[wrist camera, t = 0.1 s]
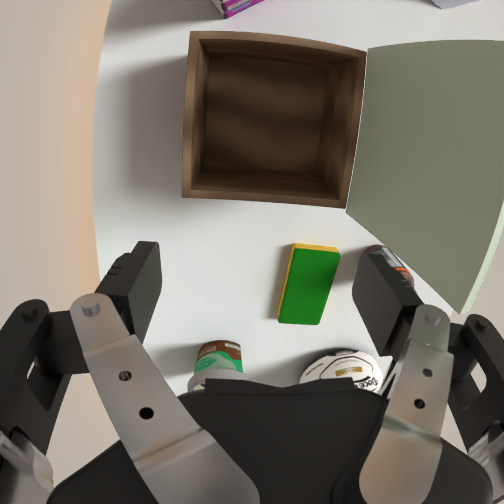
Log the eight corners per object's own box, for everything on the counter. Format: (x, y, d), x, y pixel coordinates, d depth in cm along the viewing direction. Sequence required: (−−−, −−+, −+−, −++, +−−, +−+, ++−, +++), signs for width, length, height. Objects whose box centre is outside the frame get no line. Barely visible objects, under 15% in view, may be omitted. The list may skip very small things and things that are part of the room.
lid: (521, 42, 7) (528, 50, 7) (367, 48, 21) (376, 51, 22) (459, 314, 15) (468, 312, 15) (345, 212, 29) (353, 212, 29)
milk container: (351, 328, 53) (381, 406, 37) (386, 365, 59) (412, 430, 43) (279, 373, 58) (288, 449, 42) (323, 401, 64) (337, 465, 48)
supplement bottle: (392, 269, 47) (422, 310, 37) (361, 280, 48) (386, 324, 38) (389, 238, 44) (423, 277, 34) (356, 250, 45) (384, 292, 35)
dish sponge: (276, 314, 51) (277, 323, 49) (292, 241, 44) (294, 249, 42) (315, 316, 51) (318, 325, 49) (336, 246, 45) (341, 254, 43)
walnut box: (205, 52, 31) (190, 31, 20) (331, 64, 32) (366, 52, 21) (198, 170, 38) (182, 197, 28) (317, 178, 39) (345, 208, 29)
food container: (218, 324, 51) (214, 368, 42) (245, 340, 53) (246, 383, 44) (180, 358, 55) (172, 399, 46) (205, 372, 57) (201, 412, 48)
